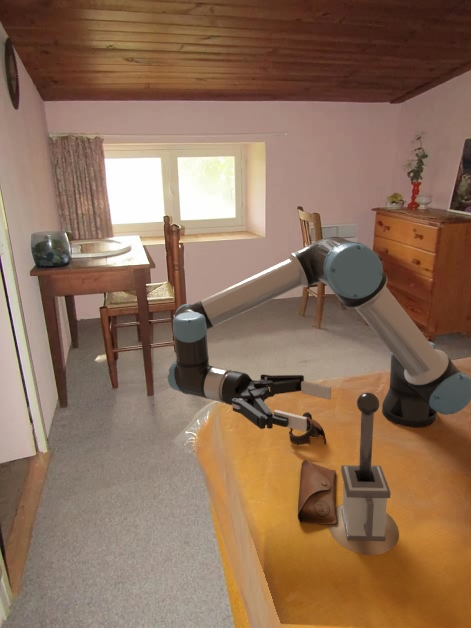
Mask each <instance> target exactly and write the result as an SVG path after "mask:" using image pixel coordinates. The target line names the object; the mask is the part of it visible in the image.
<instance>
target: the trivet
mask: <svg viewBox="0 0 471 628" xmlns="http://www.w3.org/2000/svg"><path fill="white" fill-rule="evenodd" d="M335 509H336V515H337V523H336V524H333V525H327V526H328V530H329V533H330V535H331V536H332V538H333V539H334V540H335V541H336V542H337V543H338V544H339V545H340V546H342V547H343V548H345V549H347V550H349V551H351V552H354V553H355V554H358V555H359V554H360V555H363V556H364V555H366V556H376V555H382V554H385V553H388V552H389V551H391V550H392V549H393V548H394V547H395V546H396V545H397V543H398V541H399V538H400V532H399V531H400V530H399V527H398V525H397V523H396V520H394V519H393V517H392V516H391V515H390V514H389V513H387V512H386V520H385V537H386V541H352V540H347V537H346V532H345V527H344V522H343V517H342V509H343V503H342V504H340V505H337V506H335Z"/></svg>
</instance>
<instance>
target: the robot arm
mask: <svg viewBox="0 0 471 628" xmlns="http://www.w3.org/2000/svg"><path fill="white" fill-rule="evenodd" d="M383 270H384V269H383V264H382V261H381V258H380V256H379V255H378V254H377V253H376V252H375V251H374V250H373V249H372V248H370V247H369V246H367V245H366V244H364V243H361V242H357V241H353V240H352V241H351V240H348V239H345V238H343V237H340V236H328V237H327V236H326V237H324V238H321V239H318V240H316V241H314V242H312V243H310V244H307V245H305V246H304V247H301V248H299V249H298V250H296V251H292V253H290V255H289V257H288V259H286V260H283V261H282V262H279V263H277V264H276V265H274V266H271V267H269V268H267V269H265V270H262V271H260V272H259V273H256V274H254V275H253V276H250V277H248V278H246V279H244V280H242V281H240V282H238V283H237V282H236V284H233V285H232V286H230V287H227V288H225V289H222V290H220V291H219V292H216V293H214V294H213V295H210V296H208V297H206V298H204V299H201V300H199V301H198V302H195V303H185V304H182V305H180V306H179V307H178V308H177V309H176V311H175V314H174V317H173V320H172V333H173V334H172V335H173V340H174V350H175V357H176V359H175V361H174V362H172V364H171V365H170V366H169V368H168V375H167V382H168V384H169V386H170V387H171V389H172V390H174V391H177V392H180V393H182V394H184V395H189V396H190V395H192V396H194V397H198V398H199V397H200V398H204V399H208V400H212V401H215V402H219V403H222V404H223V403H225V404H226V405H229V406H232V411H233V412H235V413H238V414H240V415H242V417H244V418H246V419H247V420H248V421H249V422H250V423H253V425H255V426H256V427H257V428H259V429H260V430H263V429H264V430H265V429H266V428H267V429H269V430H270V429H271V430H272V429H273V427H274V426H275V425H276V426H279V427H283V428H289V429H290V428H292V429H293V430H297V431H301V432H303V433H306V432H307V431H306V430H307V417H303V415H299V414H295V413H290V412H286V411H282V410H280V409H279V410H278V409H274V410H273V411H272V410H271V409H270V408H269V407H268V405H267V404H266V403H265V401H266V400H267V399H269V398H271V397H274V396H275V395H280V394H289V393H296V392H297V393H298V392H301V394H302V395H307V396H311V397H317V398H321V399H325V400H329V401H330V400H331V399H332V386H330V385H329V386H328V385H325V384H319V383H313V382H311V381H305V376H304V375H303V374H290V375H286V374H284V375H282V374H281V375H280V374H278V375H277V374H276V375H270V374H261V375H260V379H259V380H253V379H252V378H251V377H250V375H249V374H248V373H246V372H241V371H238V370H237V371H235V370H232V369H227V368H222V367H217V366H213V365H210V362H209V349H208V348H209V347H208V346H209V345H208V344H209V343H208V330H210V329H213V328H214V327H216V326H218V325H220V324H223V323H224V322H226V321H229V320H230V319H233V318H235V317H237V316H240V315H241V314H244V313H246V312H248V311H251V310H252V309H254V308H256V307H259V306H261V305H263V304H265V303H267V302H269V301H271V300H273V299H275V298H278V297H280V296H282V295H284V294H286V293H288V292H291V291H294V290H295V289H297V288H300V287H305V288H309V287H310V286H313V285H315V284H316V285H317V284H318V283H323V284H324V285H326V286H327V287H328V288H329V289H330V290H331V292H332V293H334V295H335V296H336V297H337V298H338V300H339V301H340V302H341V303H342V304H343V305H344V307H346V308H348V309H355V310H356V311H357V312H358V314H359V315H360V316H361V318H363V320H364V321H365V322H366V323H367V324H368V326H369V327H370V328H371V330H372V331H373V332H374V333H375V334H376V336H377V337H378V338H379V339H380V340H381V342H382V343H383V344H384V345H385V346H386V348H388V350H389V352H390V353H391V354H390V356H391V357H390V371H389V372H390V375H389V389H388V391H387V393H386V396H385V397H384V400H383V402H382V405H381V407H382V408H381V413H382V415H383V416H384V417H385V419H386V420H388V421H390V422H392V423H394V424H396V425H399V426H402V427H406V428H415V429H416V428H417V429H418V428H425V427H429V426H431V425H433V424H435V422H436V420H437V416H438V415H437V414H438V413H439V414H440V415H446V416H448V415H454V414H457V413H458V412H459V413H460V411H462V410H464V408H466V407H467V406H468V405H469V404H470V402H471V377H469V375H468V374H466V373H465V372H462V371H461V370H460V369H459V368H458V367H457V366H456V365H455V364H454V362H453V360H451V358H450V357H449V356H448V355H447V353H446V352H445V351H443V350H441V349H437V345H436V344H435V343H434V342H432V341H429V340H428V339H427V338H426V336H425V335H424V334H423V332H422V331H421V330H420V329H419V327H418V326H417V325H416V323H415V322H414V320H413V319H412V318H411V317H410V316H409V314H408V313H407V312H406V311H405V309H404V308H403V306H402V305H401V304H400V303H399V302H398V300H397V299H396V297H395V296H394V295H393V294H392V293H391V291H390V290H389V288H388V287H387V283H388V277H387V276H388V275H386V273H385V272H384V271H383Z"/></svg>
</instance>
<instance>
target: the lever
mask: <svg viewBox="0 0 471 628" xmlns="http://www.w3.org/2000/svg"><path fill="white" fill-rule="evenodd" d="M356 406H357V408H358V410H359V411H360V412H361V414H360V415H361V416H360V421H361V423H360V438H359V440H360V441H359V442H360V443H359V465H358V466H359V482H370V480H371V466H372V458H373V457H372V456H373V435H374V416H375V415H374V414H375V413H376V412H378V410H379V408H380V401H379V398H378V396H376V395H375V394H374V393H372V392H363V393H361V394H359V396H358V397H357V399H356Z"/></svg>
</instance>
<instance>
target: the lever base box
mask: <svg viewBox="0 0 471 628" xmlns="http://www.w3.org/2000/svg"><path fill="white" fill-rule="evenodd" d="M340 467H341V468H340V472H341V476H342V482H343V488H342V489H343V491H342V492H343V493H342V504H343V509H342V517H343V522H344V527H345V532H346V537H347V540H352V541H386V537H385V520H386V513H387V500H388V499H391V496H392V495H391V491H390V487H389V485H388V484H389V483H388V482H387V479H386V476H385V472H384V470H383V468H382V466H381V465H371V480H370V482H359V465H354V464H353V465H349V464H348V465H346V464H345V465H340Z"/></svg>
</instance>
